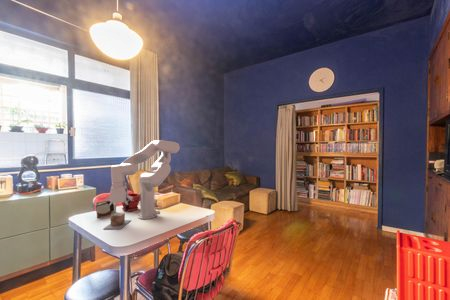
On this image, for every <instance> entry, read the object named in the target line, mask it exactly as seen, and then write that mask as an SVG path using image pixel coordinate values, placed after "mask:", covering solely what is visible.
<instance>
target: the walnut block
mask: <svg viewBox="0 0 450 300" xmlns="http://www.w3.org/2000/svg"><path fill="white" fill-rule="evenodd" d="M125 215H126V214H125V212H116V213H114V214H111V215H110V224H111V226H121V225H122V224H123V223H124V222H125V220H126V219H125V218H126V217H125Z"/></svg>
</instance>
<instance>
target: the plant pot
mask: <svg viewBox="0 0 450 300" xmlns="http://www.w3.org/2000/svg"><path fill="white" fill-rule="evenodd" d="M128 195H129V196H131V197H133V199H132V202H131V203H130V204H129V210H128V211H126V204H125V203H124V202H121V204H122V208H121V209H122V210H123V211H124V212H132V211H133V212H134V211H137V210H138V209H139V204H140V194H139V193H128ZM129 200H130V199H128V201H129Z"/></svg>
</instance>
